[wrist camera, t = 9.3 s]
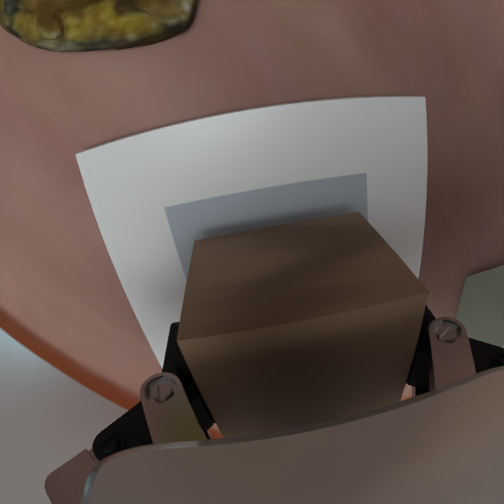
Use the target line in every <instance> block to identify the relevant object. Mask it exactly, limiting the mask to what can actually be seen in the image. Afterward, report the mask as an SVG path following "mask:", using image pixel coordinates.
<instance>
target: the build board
mask: <svg viewBox="0 0 504 504" xmlns="http://www.w3.org/2000/svg"><path fill="white" fill-rule="evenodd" d="M76 158H77V161H78V165H79V168H80V172H81V175H82V178H83V181H84V185H85V188H86V191H87V194H88V197H89V200H90V203H91V206H92V209H93V212H94V215H95V217H96V220H97V223H98V226H99V229H100V231H101V234H102V237H103V239H104V242H105V245H106V247H107V250H108V252H109V255H110V257H111V260H112V262H113V265H114V267H115V270H116V272H117V274H118V277H119V279H120V282H121V284H122V286H123V289H124V291H125V293H126V295H127V298H128V300H129V302H130V304H131V306H132V309H133V311H134V313H135V315H136V317H137V319H138V321H139V324H140V326H141V328H142V330H143V332H144V334H145V336H146V338H147V340H148V342H149V344H150V346H151V348H152V350H153V352H154V354H155V356H156V357H157V359H158V361H159V363H160V365H161V367H162V369H163V363H164V357H165V352H166V346H167V341H168V335H169V330H170V326H171V324H172V323H174V322H180V316H181V310H182V304H183V299H184V293H185V287H186V282H187V276H188V271H189V266H190V260H191V255H192V250H193V245H194V241H195V240H200V239H205V238H211V237H216V236H222V235H227V234H233V233H238V232H244V231H249V230H255V229H260V228H266V227H272V226H278V225H283V224H289V223H295V222H301V221H307V220H313V219H319V218H324V217H331V216H337V215H343V214H349V213H355V212H359V213H360V214H361V215H362V216H363V217H364V218H365V219H366V220H367V221H368V222H369V223H370V224H371V225H372V227H373V228H374V229H375V230H376V231H377V232H378V233H379V234H380V235H381V236H382V238H383V239H384V240H385V241H386V242H387V243H388V244H389V245H390V247H391V248H392V249H393V250H394V251H395V252H396V253H397V255H398V256H399V257H400V258H401V259H402V260H403V262H404V263H405V264H406V265H407V266H408V267H409V269H410V270H411V271H412V272H413V273H414V275H415V276H416V277H417V278H418V279H419V272H420V265H421V256H422V248H423V238H424V227H425V214H426V197H427V116H426V100H425V97H421V96H413V95H392V96H359V97H342V98H329V99H317V100H307V101H298V102H289V103H281V104H274V105H267V106H260V107H254V108H247V109H242V110H236V111H230V112H225V113H220V114H214V115H210V116H205V117H200V118H195V119H191V120H186V121H182V122H178V123H174V124H170V125H166V126H162V127H158V128H154V129H150V130H147V131H143V132H139V133H136V134H132V135H129V136H125V137H122V138H119V139H116V140H112V141H109V142H106V143H103V144H100V145H97V146H94V147H91V148H88V149H85V150H83V151H81V152H79V153H77V154H76Z"/></svg>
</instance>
